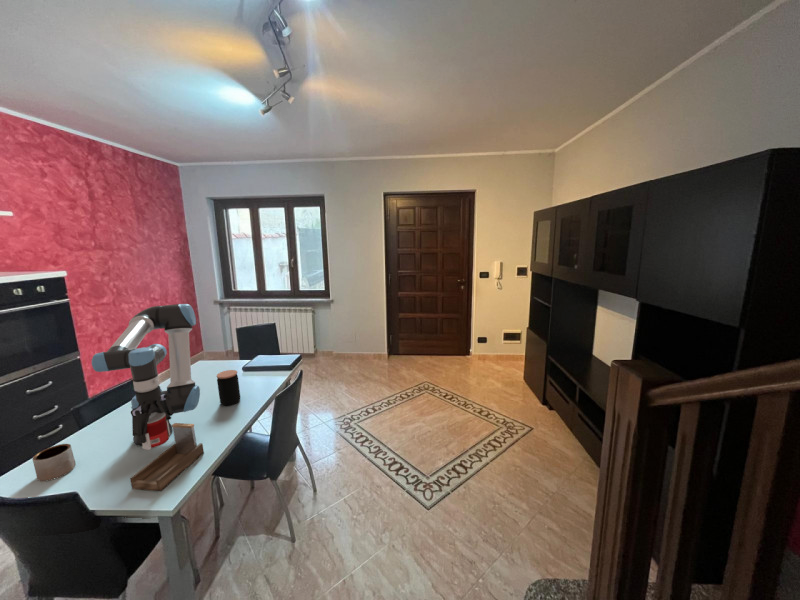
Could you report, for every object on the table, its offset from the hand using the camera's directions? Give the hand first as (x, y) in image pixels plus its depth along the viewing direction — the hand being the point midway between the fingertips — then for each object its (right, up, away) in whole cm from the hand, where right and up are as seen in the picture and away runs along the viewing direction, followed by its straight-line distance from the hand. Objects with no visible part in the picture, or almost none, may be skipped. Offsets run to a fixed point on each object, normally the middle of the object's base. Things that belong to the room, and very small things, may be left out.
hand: (157, 441), depth 123 cm
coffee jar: (-4, -5, +61) cm, 62 cm away
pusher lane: (+1, -15, +6) cm, 16 cm away
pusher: (+2, -12, +15) cm, 19 cm away
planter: (-47, -16, +6) cm, 50 cm away
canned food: (0, 0, 0) cm, 0 cm away
